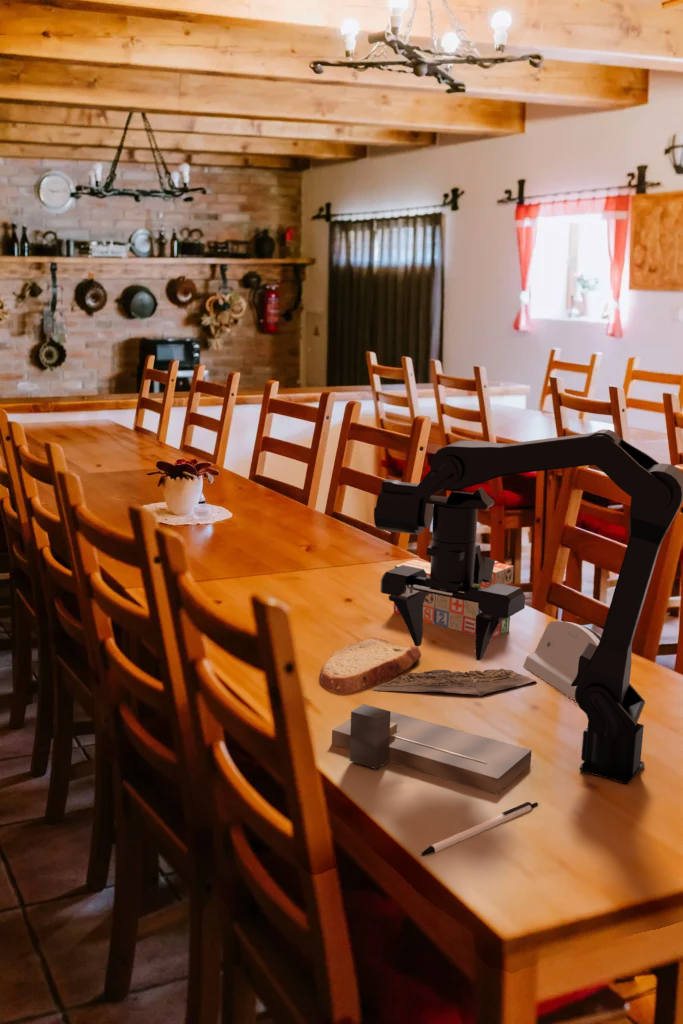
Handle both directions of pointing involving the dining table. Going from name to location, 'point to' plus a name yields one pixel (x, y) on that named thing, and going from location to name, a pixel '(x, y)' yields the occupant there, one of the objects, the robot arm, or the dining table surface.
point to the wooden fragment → (456, 681)
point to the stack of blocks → (460, 602)
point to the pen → (480, 827)
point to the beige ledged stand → (561, 654)
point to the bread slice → (366, 664)
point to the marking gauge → (370, 735)
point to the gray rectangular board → (449, 753)
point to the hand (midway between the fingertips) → (448, 652)
